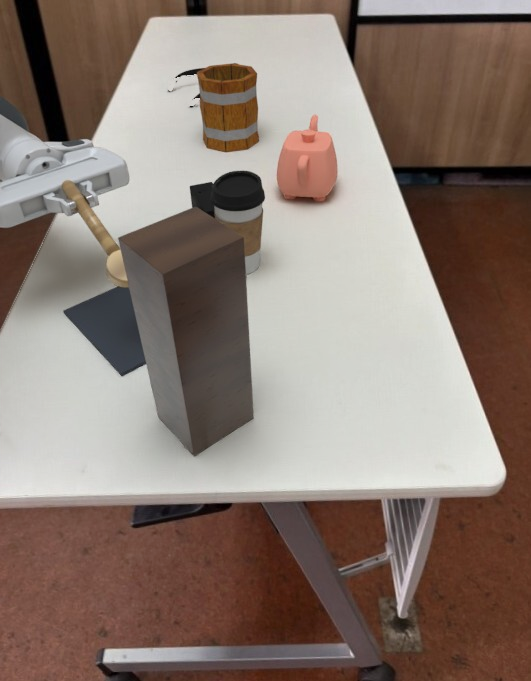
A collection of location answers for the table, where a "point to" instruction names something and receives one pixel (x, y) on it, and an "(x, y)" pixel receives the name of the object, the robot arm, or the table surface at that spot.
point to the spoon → (99, 235)
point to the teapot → (307, 164)
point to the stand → (193, 323)
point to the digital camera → (202, 197)
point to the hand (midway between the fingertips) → (83, 205)
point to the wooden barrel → (229, 106)
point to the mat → (111, 327)
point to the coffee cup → (241, 210)
